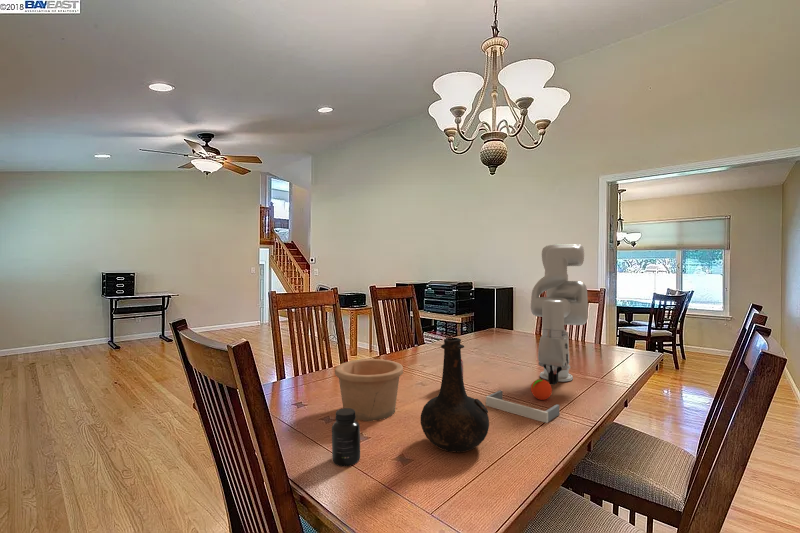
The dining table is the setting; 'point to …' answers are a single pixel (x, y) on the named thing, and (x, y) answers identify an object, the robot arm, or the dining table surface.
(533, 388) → the clementine
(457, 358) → the glass bottle
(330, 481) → the dining table surface
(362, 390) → the pottery
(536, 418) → the grey u-shaped bracket
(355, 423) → the supplement bottle
